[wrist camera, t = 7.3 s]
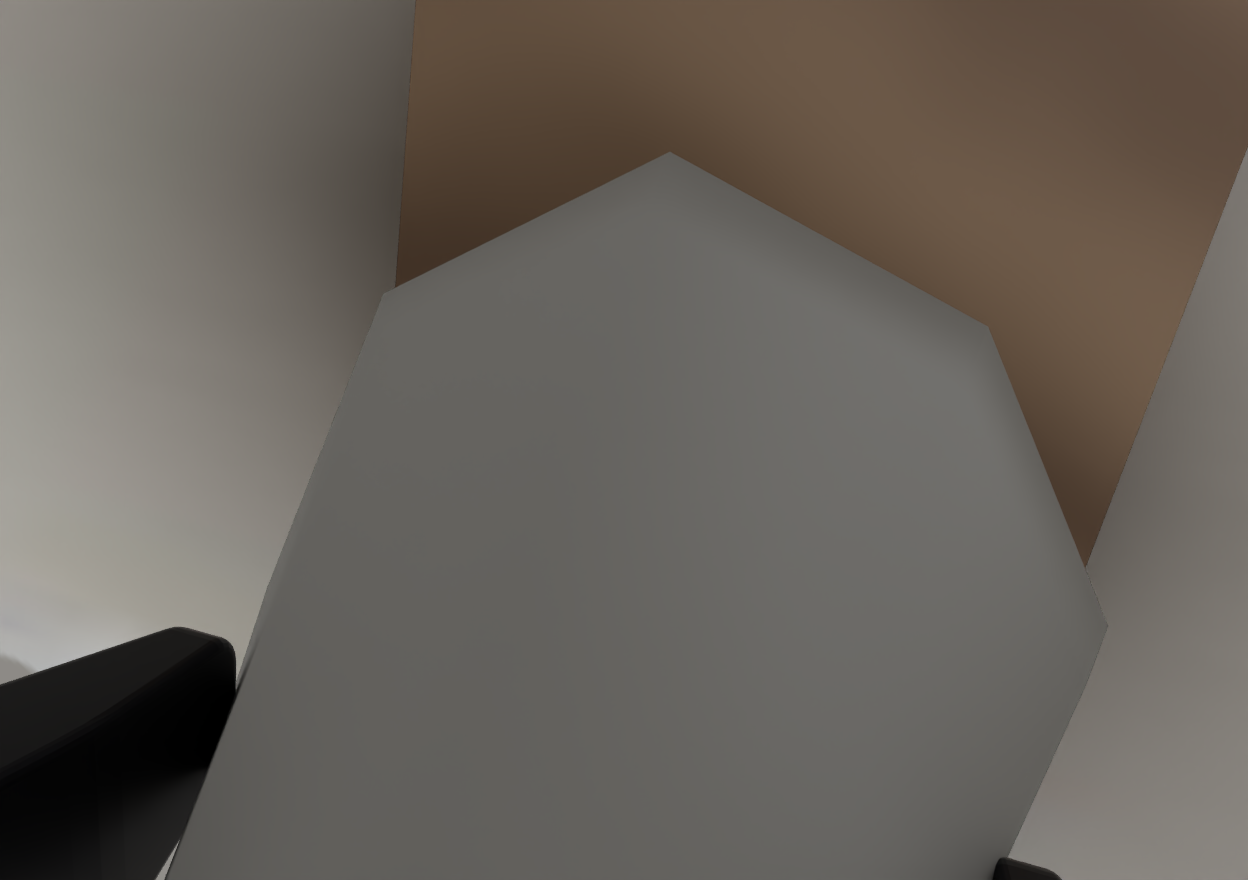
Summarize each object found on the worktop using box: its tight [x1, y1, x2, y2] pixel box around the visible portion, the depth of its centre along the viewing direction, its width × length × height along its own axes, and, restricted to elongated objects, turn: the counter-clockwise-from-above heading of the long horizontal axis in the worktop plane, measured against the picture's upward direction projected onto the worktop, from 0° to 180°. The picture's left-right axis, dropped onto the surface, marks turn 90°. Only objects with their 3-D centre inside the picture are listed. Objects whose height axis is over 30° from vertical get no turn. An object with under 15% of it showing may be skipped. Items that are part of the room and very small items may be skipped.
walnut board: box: [395, 0, 1248, 567], centre depth 18 cm, size 18×12×1 cm, turn 171°
